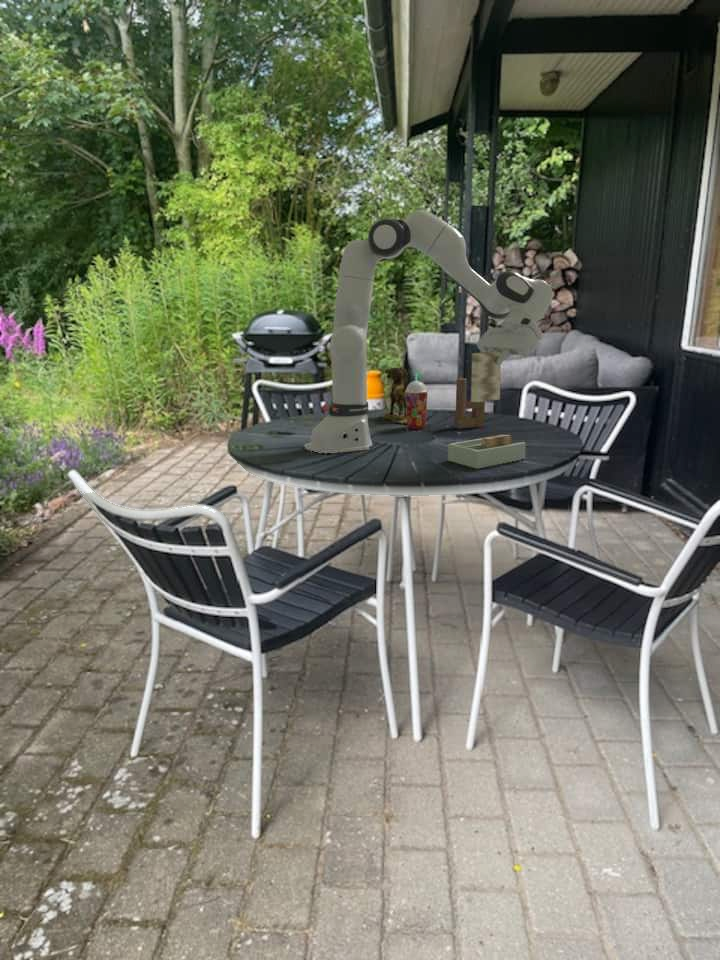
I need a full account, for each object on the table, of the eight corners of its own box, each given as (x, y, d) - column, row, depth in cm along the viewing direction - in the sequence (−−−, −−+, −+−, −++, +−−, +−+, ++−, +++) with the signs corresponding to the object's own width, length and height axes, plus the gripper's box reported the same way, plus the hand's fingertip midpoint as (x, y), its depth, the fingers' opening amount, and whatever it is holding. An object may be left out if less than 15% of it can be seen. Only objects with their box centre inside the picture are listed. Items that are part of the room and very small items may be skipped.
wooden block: (484, 427, 258) (485, 377, 253) (458, 429, 254) (459, 379, 250) (479, 425, 261) (481, 376, 256) (453, 427, 258) (454, 378, 253)
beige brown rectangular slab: (477, 402, 205) (478, 354, 202) (471, 401, 207) (471, 353, 204) (499, 399, 210) (500, 352, 206) (493, 398, 212) (494, 351, 208)
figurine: (407, 413, 289) (407, 364, 284) (421, 424, 265) (422, 370, 260) (376, 415, 287) (376, 365, 282) (388, 425, 263) (388, 371, 258)
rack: (477, 468, 197) (477, 451, 195) (447, 460, 207) (448, 443, 206) (524, 459, 207) (525, 442, 206) (494, 451, 217) (495, 436, 216)
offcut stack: (487, 464, 201) (488, 439, 199) (477, 462, 204) (478, 436, 202) (511, 460, 206) (512, 435, 204) (501, 457, 209) (502, 433, 207)
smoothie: (427, 425, 261) (428, 371, 256) (427, 430, 253) (427, 374, 248) (405, 425, 262) (405, 372, 257) (404, 429, 254) (404, 374, 249)
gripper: (487, 319, 216) (463, 353, 214) (537, 320, 200) (511, 357, 197) (497, 333, 220) (473, 367, 217) (547, 335, 203) (522, 372, 201)
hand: (492, 362), depth 207 cm, fingers closed on beige brown rectangular slab, 3 cm apart
